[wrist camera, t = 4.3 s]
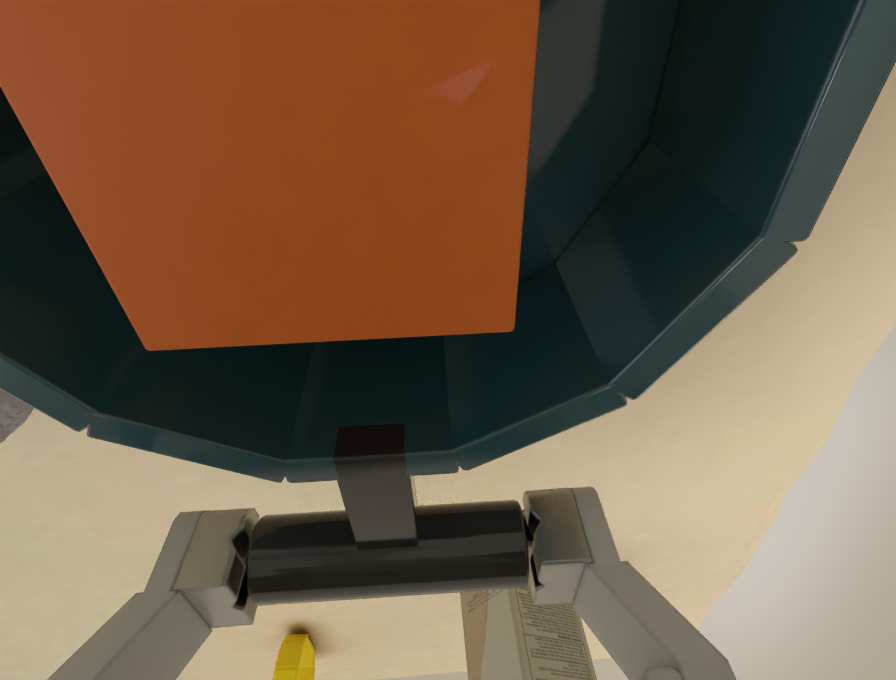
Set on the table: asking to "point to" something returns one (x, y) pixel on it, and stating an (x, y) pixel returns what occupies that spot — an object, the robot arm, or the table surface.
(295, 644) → the watch
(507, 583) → the bowl
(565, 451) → the table surface
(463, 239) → the block
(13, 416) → the stone block
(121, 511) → the table surface
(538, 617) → the box
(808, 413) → the table surface
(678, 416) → the table surface
